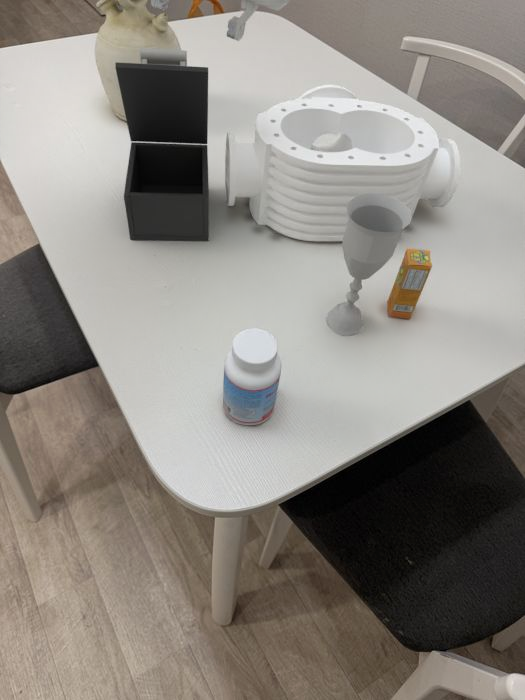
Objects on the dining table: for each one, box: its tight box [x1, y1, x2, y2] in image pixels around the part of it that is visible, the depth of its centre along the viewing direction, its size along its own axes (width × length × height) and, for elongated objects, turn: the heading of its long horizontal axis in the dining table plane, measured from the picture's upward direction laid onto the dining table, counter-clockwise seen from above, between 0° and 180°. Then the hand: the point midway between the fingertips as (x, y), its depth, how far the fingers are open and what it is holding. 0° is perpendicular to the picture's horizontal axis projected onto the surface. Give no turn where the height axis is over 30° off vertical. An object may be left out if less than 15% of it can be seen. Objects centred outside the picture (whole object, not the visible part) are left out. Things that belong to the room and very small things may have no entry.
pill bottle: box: [222, 327, 282, 426], centre depth 56 cm, size 6×6×11 cm
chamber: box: [123, 141, 210, 242], centre depth 78 cm, size 14×12×8 cm
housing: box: [224, 84, 461, 242], centre depth 81 cm, size 35×22×14 cm, turn 96°
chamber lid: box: [115, 48, 209, 145], centre depth 72 cm, size 14×12×5 cm
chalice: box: [325, 193, 413, 336], centre depth 63 cm, size 7×7×18 cm
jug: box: [94, 0, 182, 122], centre depth 90 cm, size 15×16×25 cm
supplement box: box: [386, 248, 433, 320], centre depth 68 cm, size 3×3×10 cm
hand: (197, 22), depth 59 cm, fingers open, 8 cm apart
